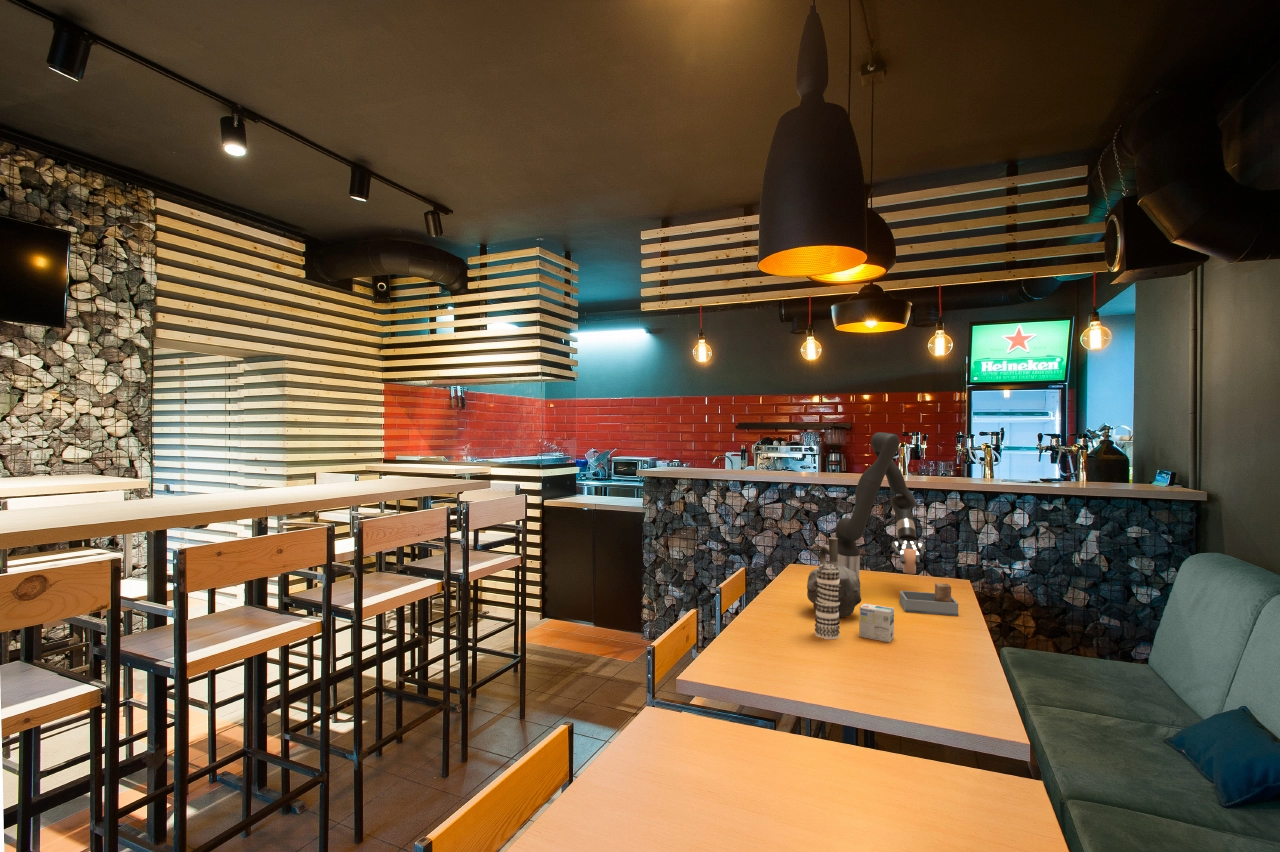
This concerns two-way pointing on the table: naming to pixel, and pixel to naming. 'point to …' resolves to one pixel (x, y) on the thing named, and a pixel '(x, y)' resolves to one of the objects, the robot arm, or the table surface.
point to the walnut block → (942, 592)
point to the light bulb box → (876, 622)
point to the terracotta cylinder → (909, 561)
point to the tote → (927, 604)
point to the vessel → (847, 582)
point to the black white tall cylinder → (827, 602)
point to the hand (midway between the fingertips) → (910, 563)
